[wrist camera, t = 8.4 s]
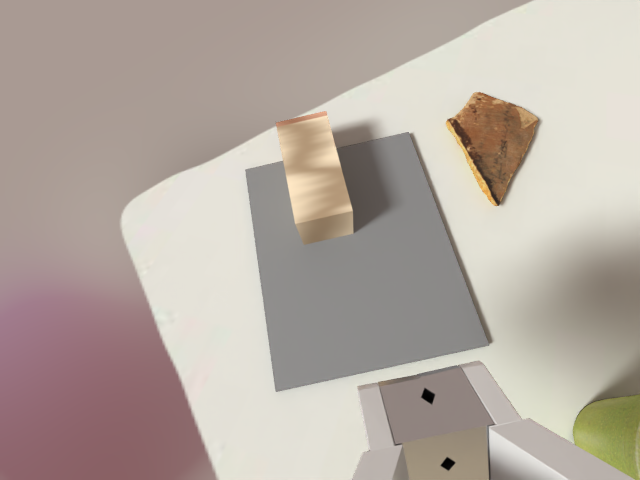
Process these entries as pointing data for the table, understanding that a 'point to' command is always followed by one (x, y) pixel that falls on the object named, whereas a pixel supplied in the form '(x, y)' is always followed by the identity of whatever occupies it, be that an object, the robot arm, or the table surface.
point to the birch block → (315, 178)
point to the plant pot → (612, 432)
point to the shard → (492, 140)
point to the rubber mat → (360, 273)
